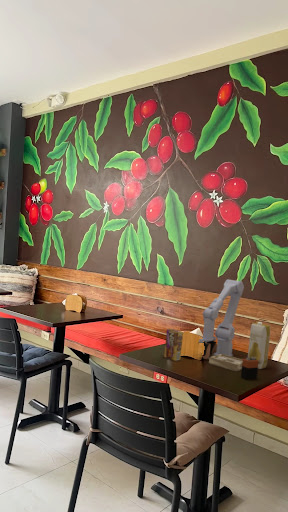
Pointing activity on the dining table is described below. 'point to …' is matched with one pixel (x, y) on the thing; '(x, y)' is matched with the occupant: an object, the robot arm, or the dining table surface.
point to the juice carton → (259, 343)
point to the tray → (226, 362)
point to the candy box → (173, 344)
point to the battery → (249, 368)
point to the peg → (207, 352)
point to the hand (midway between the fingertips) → (206, 354)
